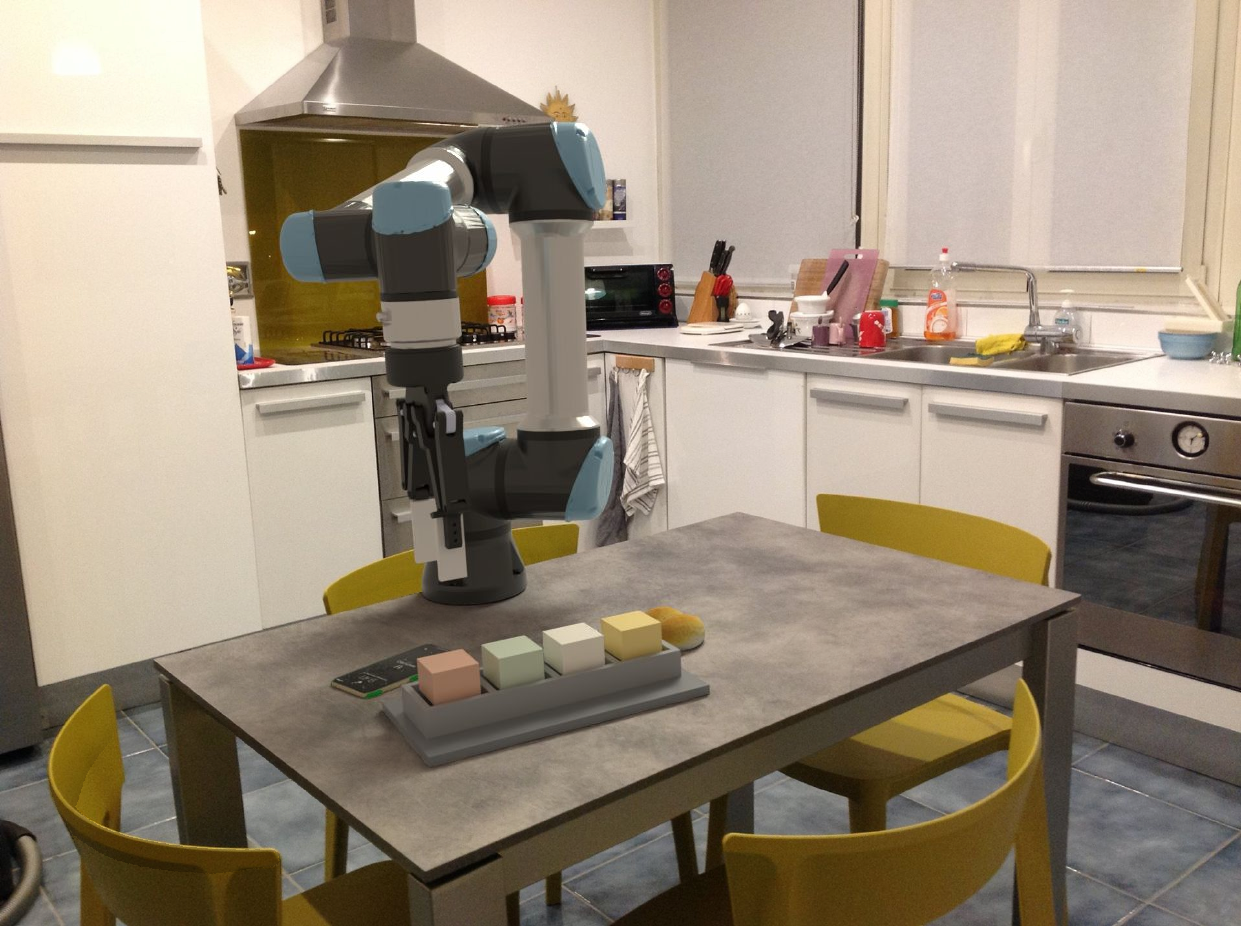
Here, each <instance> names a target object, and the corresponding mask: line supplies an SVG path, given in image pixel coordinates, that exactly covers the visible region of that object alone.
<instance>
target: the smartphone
mask: <svg viewBox="0 0 1241 926" xmlns="http://www.w3.org/2000/svg"><path fill="white" fill-rule="evenodd" d="M450 651H453V650H452V649H448V648H446V647H442V646H439V645H435V644H432V643H426V644H425V643H424V644H422V645H419V646H416V647H413V648H410V649H407V650H405V651H404V652H400V653H398V654H395V655H392V656H390V657H387V658H385V659H382V660H379V661H376V662H374V663H370V664H369V665H366V666H363V667H361V668H358V669H356V670H354V671H351V672H348V673H345V674H342V675H340V676H337V677H334V678H333V679H332V680H331V682H330V685H331V687H334V688H337V689H339V690H342V691H344V692H347V693H349V694H352V695H355V696H358V697H360V698H363V699H372V698H375V697H378V696H380V695H383V694H384V693H387V692H388V691H389V692H390V691H391V690H395V689H397V688H399V687H400V686H401V685H403V684H407V683H412V682H416V681H418V680H419V679H418V667H417V658H422V657H426V656H431V655H436V654H440V653H445V652H450Z"/></svg>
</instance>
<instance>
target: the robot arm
mask: <svg viewBox="0 0 1241 926" xmlns="http://www.w3.org/2000/svg"><path fill="white" fill-rule="evenodd" d="M606 180H607V179H606V174H605V167H604V162H603V158H602V154H601V151H600V146H599V144H598V142H597V139H596V137H595V135H594V133H593V131H592V130H591V129H590V128H589V127H588V126H587V125H586V124H584V123H582V122H577V121H575V122H573V121H572V122H571V121H568V122H567V121H555V120H554V121H549V122H540V123H539V122H537V123H526V124H525V123H524V124H515V125H503V126H501V125H499V126H483V127H478V128H474V129H469V130H465V131H462V132H460V133H457V134H454V135H452V136H450V137H447V138H445V139H442V140H441V141H438V142H436V143H433V144H432V145H430V146H428V147H425V148H423V149H422V150H419V152H417V153H416V154H414V155H413V157H411V159H410V160H409V161H408V163H407V165H406V167H405V168H404V169H403V170H400V171H399V172H396V174H395V173H394V174H393V175H392V176H390V177H388V178H386V179H385V180H383V181H381V182H379V183H377V184H375V185H374V186H371V187H370V188H368V189H366V190H364V191H363V192H361V193H359V194H357V195H356V196H353V197H351V198H350V199H348V200H346V201H344V202H342V203H340V204H338V205H336V206H335V207H333V208H331V209H328V210H326V209H325V210H315V209H310V210H309V211H303V212H295V213H292V214H290V215H288V217H286V219H285V220H284V222H283V224H282V227H281V230H280V234H279V249H280V253H281V258H282V263H283V265H284V267H285V269H286V271H287V273H288V274H289V275H290V276H291V277H292V278H293V279H295V280H296V281H298V282H302V283H322V284H323V285H325V284H326V285H327V284H328V283H344V282H345V283H346V282H363V281H364V282H365V281H378V285H379V286H378V287H379V301H380V307H381V308H380V309H381V311H380V312H377V313H376V315H375V316H376V320H377V322H379V323H382V333H383V335H382V336H383V340H384V341H385V342H386V343H387V344H388V343H389V344H390V346H389V347H387V348H386V349H385V350H384V362H385V363H384V365H385V374H386V375H385V376H386V382H387V384H388V385H389V386H392V387H396V388H405V394H404V397H396V399H395V403H394V404H395V407H396V414H397V419H398V437H399V439H398V440H399V455H400V458H399V459H400V477H401V485H400V486H401V489H402V490H403V492H404V491H406V495H407V498H408V500H410V501H409V504H410V515H411V518H410V519H411V527H412V531H411V532H412V541H413V542H412V543H413V553H414V563H416V564H422V563H423V564H424V567H423V571H422V575H421V588H422V589H421V591H422V596H423V597H424V598H426V599H428V601H432V602H435V603H438V604H446V605H476V604H479V605H480V604H485V603H486V604H487V603H492V602H497V601H502V600H505V599H508V598H511V597H514V596H516V595H518V594H520V593H521V592H523V591H524V590H525V589H527V586H528V579H527V569H526V567H525V564H524V561H523V559H522V557H521V555H520V552H519V549H518V546H517V544H516V541H515V539H514V537H513V533H512V521H562V522H563V521H564V522H565V523H571V522H573V521H574V522H577V521H591V520H595V519H597V518H598V517H599V516H600V515H601V514H602V513H603V512H604V509H605V508H606V506H607V503H608V500H609V496H610V493H611V488H612V484H613V478H614V469H615V451H614V444H613V441H612V440H611V438H609V437H608V436H607V437H606V436H605V435H602V436H601V423H600V422H599V421H598V420H597V419H596V418H595V417H594V416H593V415H592V414H591V412H590V409H589V407H590V406H589V384H588V383H589V379H588V378H589V377H588V375H589V374H588V348H587V346H588V345H587V344H588V343H587V339H588V338H587V314H586V284H585V283H586V279H585V278H586V277H585V276H586V275H585V250H584V247H585V245H584V238H585V236H586V234H588V232H589V231H590V230H591V229H592V228H593V226H595V225H594V224H595V216H594V214H595V211H596V212H599V211H601V210H603V209H604V208H605V206H606V204H607V196H606V195H607V191H608V190H607V181H606ZM487 215H499V216H500V215H508V216H507V217H508V227H509V228H510V230H512V231H513V232H514V233H515V235H517V236H518V238H519V240H520V257H521V262H520V263H521V285H522V311H523V331H524V332H523V333H524V334H523V335H524V337H523V339H524V358H525V359H524V361H525V362H524V364H525V365H524V366H525V383H526V384H525V386H526V391H525V392H526V410H527V411H526V415H525V416H524V418H523V419H522V420H521V421H520V422H519V423H518V424H517V426H516V436H517V437H507V435H508V434H507V432H506V430H505V428H504V427H503V426H499V425H498V426H493V425H491V426H481V427H476V428H475V427H474V428H470V429H464V412H463V410H462V409H461V408H458V409H457V408H456V409H454V406H453V402H451V400H450V395H449V391H448V387H449V386H450V384H456V383H459V382H461V381H462V380H463V379H464V376H465V374H464V373H465V371H464V358H463V347H462V346H461V345H460V343H457V339H459V338H460V337H461V336H462V324H461V323H462V321H461V309H460V297H459V292H458V291H459V290H458V279H459V278H465V279H467V278H469V277H470V278H471V277H472V275H476V274H478V273H480V272H482V271H483V270H485V269H486V268H487V267H488V266H489V265H490V264H491V262H492V261H493V259H494V257H495V255H496V253H497V248H498V236H497V231H496V228H495V225H494V224H493V222H492V220H491V219H490V217H489V216H487ZM457 278H458V279H457ZM411 500H412V501H411Z"/></svg>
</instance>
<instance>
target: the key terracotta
mask: <svg viewBox="0 0 1241 926" xmlns="http://www.w3.org/2000/svg"><path fill="white" fill-rule="evenodd" d="M417 667H418V679H417V680H418V681H419V690H420V691H421V692H422V693H423V694H424V695H425V696H426V698H427V699H428V700H429V701H430V702H431V703H432V704H433V705H434V706H435V705H439V704H443V703H447V702H452V701H456V700H460V699H464V698H468V697H473V696H477V695H481V686H480V672H479V667H480V664H479V662H478V661H477V660H476V659H475V658H473V657H472V656H471V654H469V653H467V652H466V651H465V650H464V649H463V648H461V649H455V650H452V651H450V652H445V653H440V654H436V655H431V656H426V657H422V658H417Z"/></svg>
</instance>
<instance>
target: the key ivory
mask: <svg viewBox="0 0 1241 926" xmlns="http://www.w3.org/2000/svg"><path fill="white" fill-rule="evenodd" d="M542 642H543V645H542V646H543V653H544V661H545V662H546V663H547V664H549V665H550V666H551V667H553V668H554V669H555V670H557V671H558V672H559V673H561V674H562V675H565V674H569V673H574V672H578V671H582V670H586V669H590V668H595V667H599V666H603V665H605V654H604V635H602V634H601V632H599V631H598V630H596V629H595V628H593V627H591V626H589V625H588V624H587V623H585V622H579V623H574V624H570V625H566V626H561V627H558V628H552V629H548V630H543V631H542Z"/></svg>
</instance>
